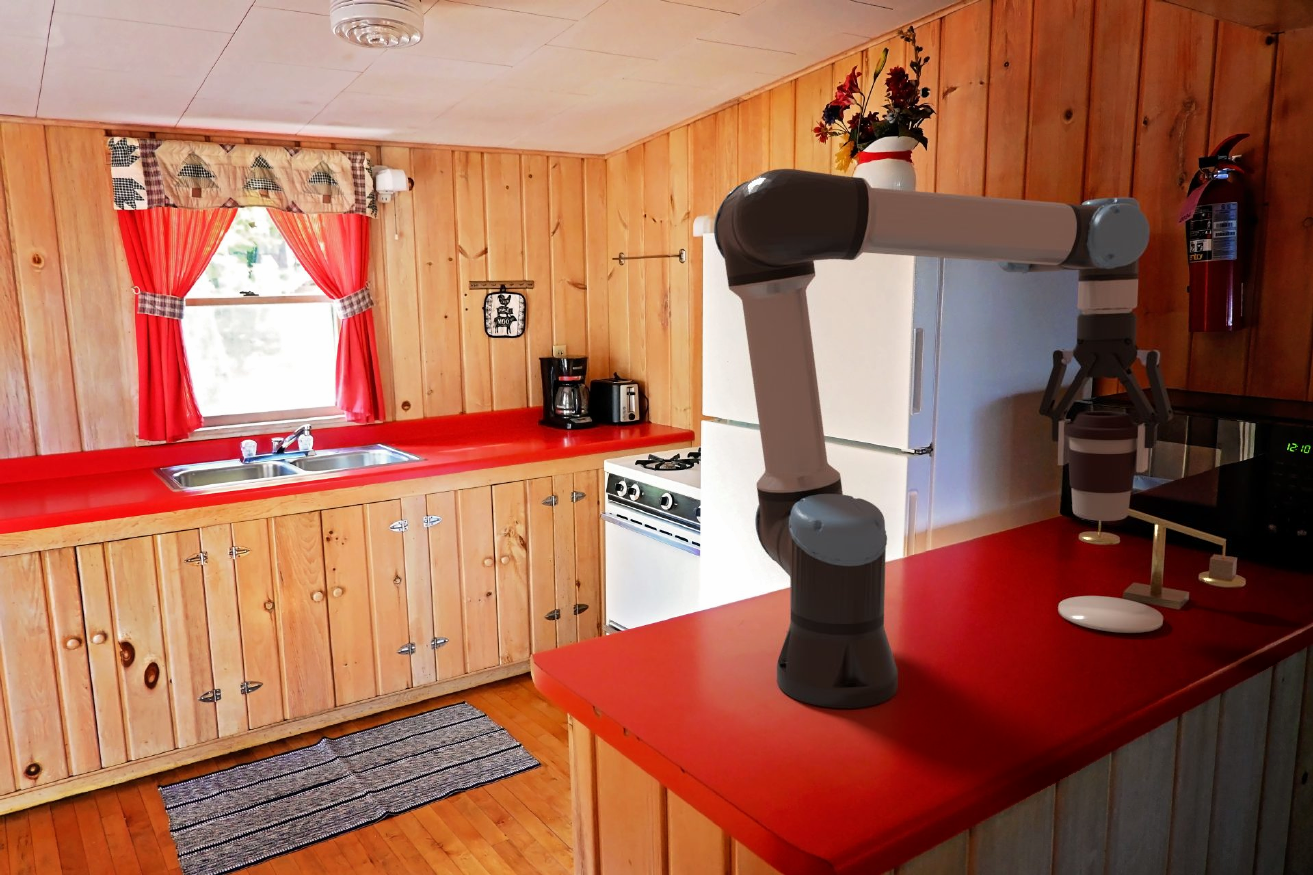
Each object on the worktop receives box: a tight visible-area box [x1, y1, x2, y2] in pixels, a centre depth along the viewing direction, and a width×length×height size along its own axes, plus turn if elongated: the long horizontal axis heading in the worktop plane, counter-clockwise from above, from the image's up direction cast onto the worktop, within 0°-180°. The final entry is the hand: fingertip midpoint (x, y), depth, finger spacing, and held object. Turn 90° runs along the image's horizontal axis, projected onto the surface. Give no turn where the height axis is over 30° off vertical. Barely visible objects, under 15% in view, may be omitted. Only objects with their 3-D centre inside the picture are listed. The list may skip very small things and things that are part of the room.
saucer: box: [1057, 595, 1164, 634], centre depth 136 cm, size 14×14×1 cm
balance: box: [1078, 508, 1247, 611], centre depth 143 cm, size 6×24×15 cm, turn 48°
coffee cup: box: [1065, 410, 1141, 522], centre depth 131 cm, size 10×10×15 cm
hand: (1101, 467), depth 131 cm, fingers closed on coffee cup, 10 cm apart
